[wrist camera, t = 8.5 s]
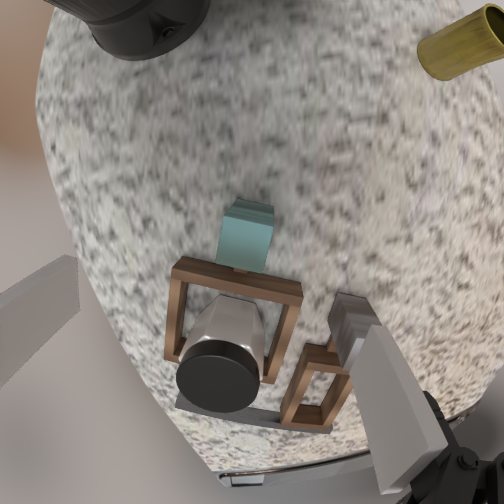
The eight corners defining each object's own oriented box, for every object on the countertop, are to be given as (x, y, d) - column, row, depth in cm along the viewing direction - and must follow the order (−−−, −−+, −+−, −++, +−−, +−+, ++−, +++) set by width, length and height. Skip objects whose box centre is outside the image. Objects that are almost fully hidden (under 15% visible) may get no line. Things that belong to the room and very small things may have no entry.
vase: (451, 89, 27) (525, 70, 13) (412, 65, 26) (478, 28, 13) (458, 54, 25) (525, 27, 11) (421, 30, 25) (480, -13, 11)
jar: (232, 360, 40) (219, 425, 28) (186, 324, 38) (158, 383, 27) (278, 323, 37) (280, 387, 26) (231, 281, 36) (213, 336, 25)
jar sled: (192, 189, 33) (161, 202, 23) (318, 217, 33) (337, 242, 23) (172, 342, 39) (148, 389, 30) (274, 365, 39) (273, 418, 30)
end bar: (179, 391, 43) (175, 401, 40) (331, 418, 43) (333, 428, 40) (178, 397, 43) (175, 407, 41) (328, 423, 43) (329, 434, 41)
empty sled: (324, 289, 35) (340, 335, 26) (377, 300, 35) (406, 344, 26) (280, 407, 42) (280, 457, 32) (324, 412, 42) (331, 461, 32)
